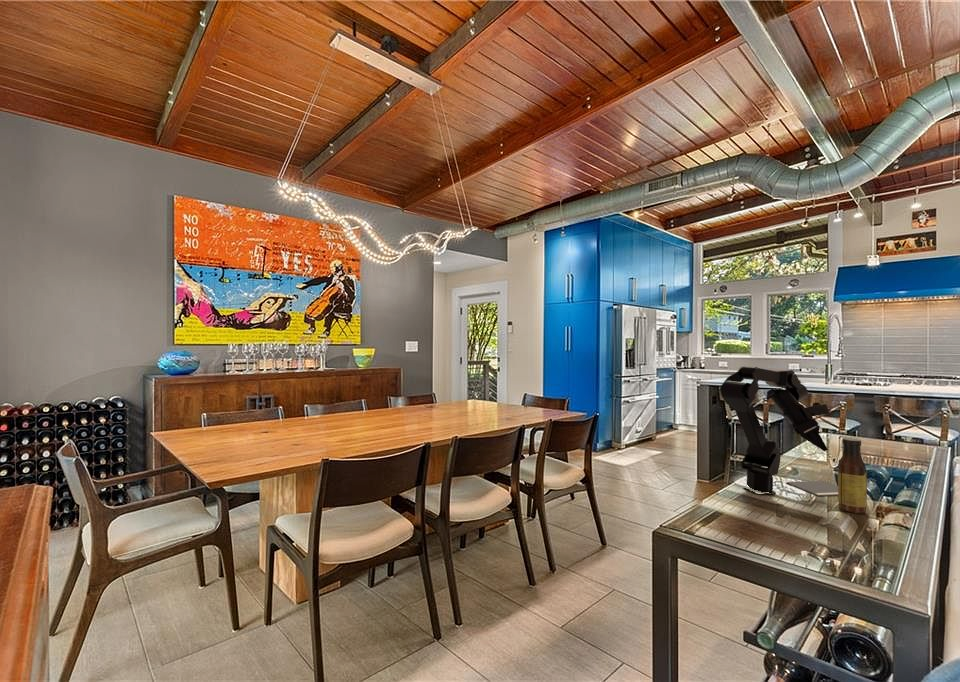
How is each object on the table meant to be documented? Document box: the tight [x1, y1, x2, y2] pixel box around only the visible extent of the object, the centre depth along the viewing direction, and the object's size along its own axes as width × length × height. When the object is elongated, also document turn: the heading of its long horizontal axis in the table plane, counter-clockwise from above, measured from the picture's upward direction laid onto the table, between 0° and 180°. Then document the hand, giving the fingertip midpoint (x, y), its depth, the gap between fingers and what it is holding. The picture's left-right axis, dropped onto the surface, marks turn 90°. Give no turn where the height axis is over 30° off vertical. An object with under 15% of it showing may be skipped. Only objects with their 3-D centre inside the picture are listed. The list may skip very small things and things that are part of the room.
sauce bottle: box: [837, 437, 868, 514], centre depth 126 cm, size 7×6×20 cm
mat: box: [786, 480, 838, 497], centre depth 144 cm, size 14×12×1 cm
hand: (825, 449), depth 139 cm, fingers open, 9 cm apart
